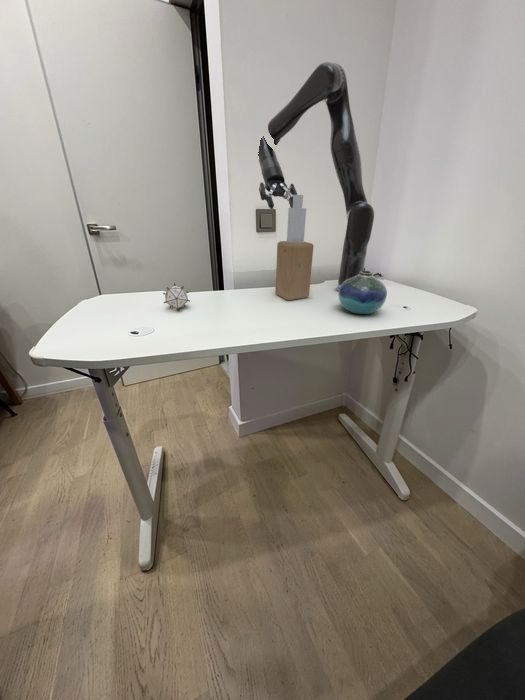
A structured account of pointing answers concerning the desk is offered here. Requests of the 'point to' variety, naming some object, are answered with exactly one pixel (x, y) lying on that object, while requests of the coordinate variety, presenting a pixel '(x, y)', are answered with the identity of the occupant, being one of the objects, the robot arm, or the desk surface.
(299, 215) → the flask
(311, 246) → the wooden block
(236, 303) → the desk surface
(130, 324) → the desk surface
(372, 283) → the vase
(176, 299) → the grey spiked polyhedron
